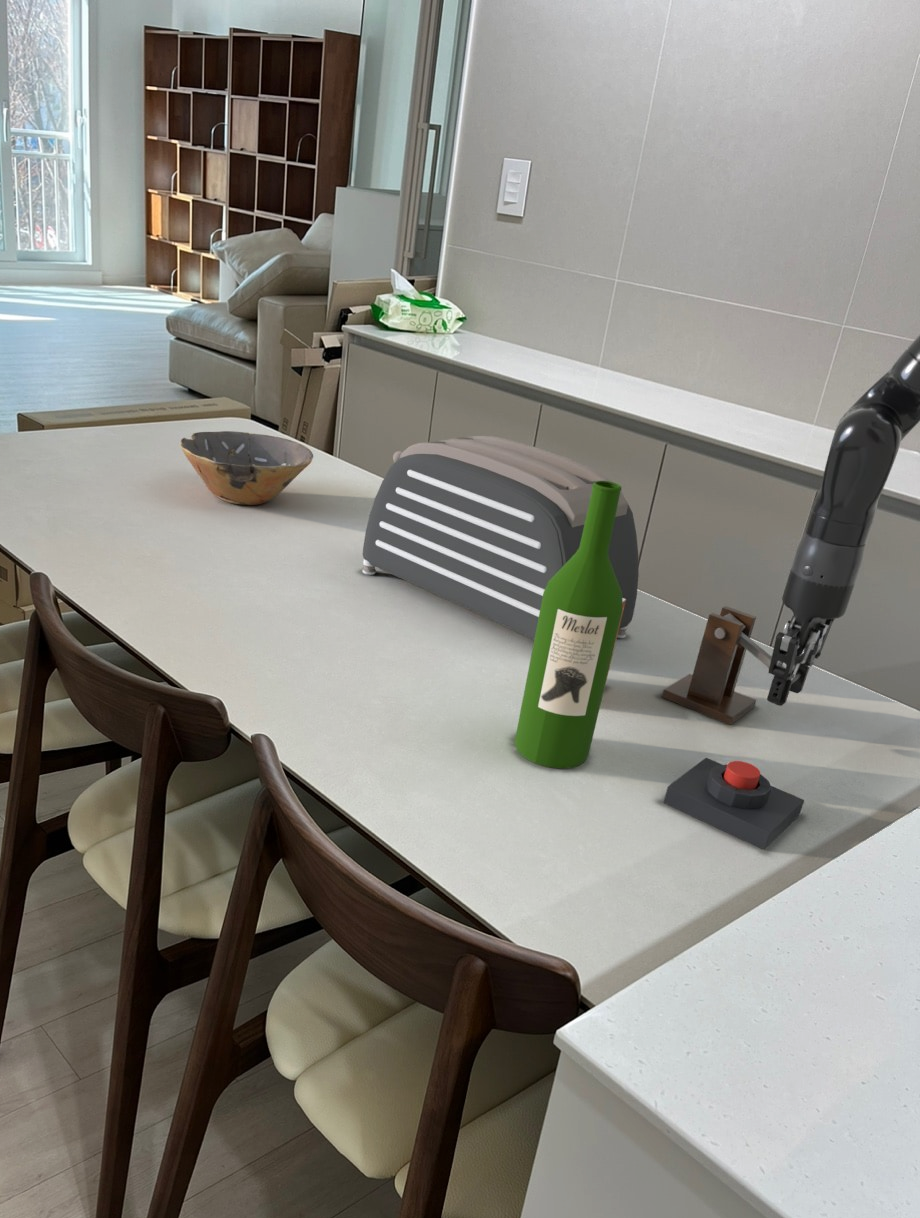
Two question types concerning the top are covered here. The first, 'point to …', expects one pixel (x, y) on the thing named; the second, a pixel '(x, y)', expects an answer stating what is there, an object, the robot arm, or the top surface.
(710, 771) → the control block
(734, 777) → the button
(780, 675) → the robot arm
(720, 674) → the bracket
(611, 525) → the wine bottle
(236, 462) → the bowl
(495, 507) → the toaster
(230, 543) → the top surface
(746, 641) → the lever
